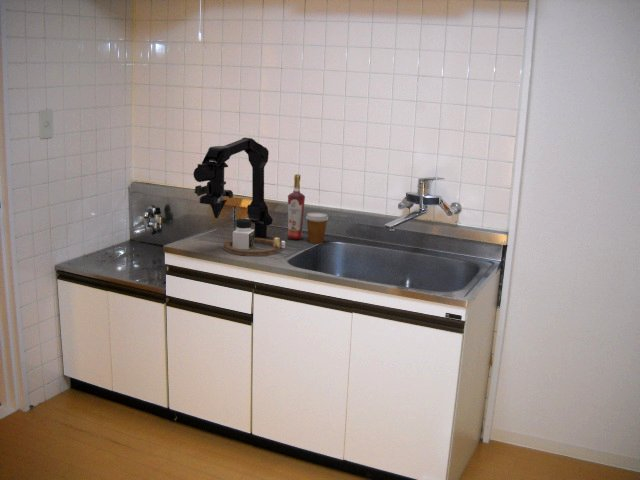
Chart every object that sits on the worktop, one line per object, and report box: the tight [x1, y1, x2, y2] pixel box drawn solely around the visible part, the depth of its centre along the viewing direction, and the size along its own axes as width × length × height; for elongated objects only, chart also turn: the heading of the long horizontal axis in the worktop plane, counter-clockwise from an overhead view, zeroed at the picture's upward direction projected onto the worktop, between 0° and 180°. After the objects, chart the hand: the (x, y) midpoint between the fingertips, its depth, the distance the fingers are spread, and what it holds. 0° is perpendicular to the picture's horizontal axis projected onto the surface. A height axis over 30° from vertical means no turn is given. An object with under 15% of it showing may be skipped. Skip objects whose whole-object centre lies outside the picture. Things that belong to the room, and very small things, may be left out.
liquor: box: [286, 173, 306, 241], centre depth 313 cm, size 7×7×28 cm
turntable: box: [223, 236, 282, 257], centre depth 296 cm, size 23×23×6 cm
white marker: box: [280, 240, 286, 249], centre depth 300 cm, size 1×2×2 cm, turn 18°
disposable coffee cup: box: [305, 211, 329, 245], centre depth 311 cm, size 10×10×12 cm
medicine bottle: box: [231, 217, 255, 251], centre depth 296 cm, size 7×7×12 cm
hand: (216, 218), depth 289 cm, fingers closed
